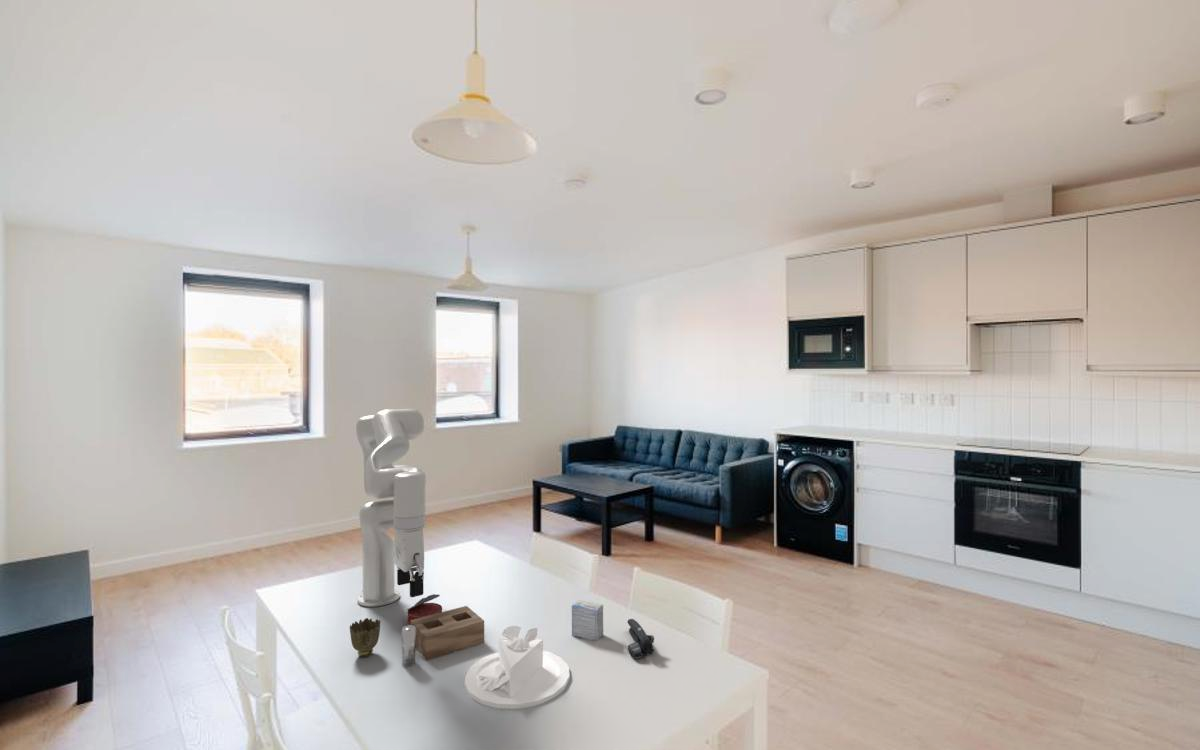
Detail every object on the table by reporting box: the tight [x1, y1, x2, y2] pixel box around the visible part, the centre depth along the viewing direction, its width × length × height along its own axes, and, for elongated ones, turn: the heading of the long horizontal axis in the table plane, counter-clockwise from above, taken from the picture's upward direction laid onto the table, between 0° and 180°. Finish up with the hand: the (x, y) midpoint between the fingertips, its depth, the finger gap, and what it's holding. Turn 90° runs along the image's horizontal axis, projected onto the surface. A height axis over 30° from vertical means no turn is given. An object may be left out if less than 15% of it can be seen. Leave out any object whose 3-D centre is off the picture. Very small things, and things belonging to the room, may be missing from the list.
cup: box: [348, 617, 381, 658], centre depth 148 cm, size 8×7×8 cm
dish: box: [463, 625, 571, 710], centre depth 137 cm, size 25×25×11 cm
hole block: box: [411, 605, 485, 661], centre depth 155 cm, size 12×16×6 cm
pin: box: [401, 624, 417, 668], centre depth 144 cm, size 3×3×9 cm
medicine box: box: [571, 599, 604, 642], centre depth 159 cm, size 8×4×9 cm, turn 65°
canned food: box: [406, 593, 443, 625], centre depth 169 cm, size 11×10×10 cm
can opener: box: [626, 618, 655, 659], centre depth 154 cm, size 18×7×6 cm, turn 8°
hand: (410, 589), depth 144 cm, fingers open, 9 cm apart
